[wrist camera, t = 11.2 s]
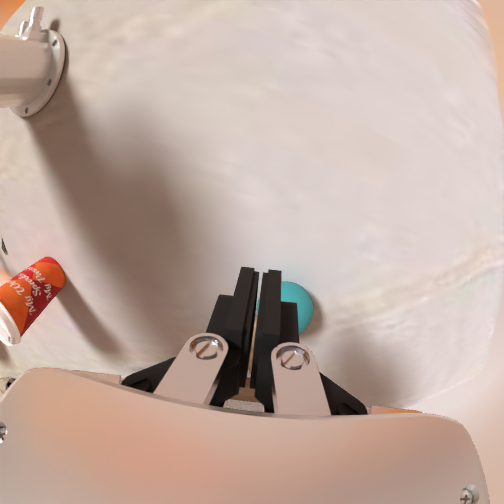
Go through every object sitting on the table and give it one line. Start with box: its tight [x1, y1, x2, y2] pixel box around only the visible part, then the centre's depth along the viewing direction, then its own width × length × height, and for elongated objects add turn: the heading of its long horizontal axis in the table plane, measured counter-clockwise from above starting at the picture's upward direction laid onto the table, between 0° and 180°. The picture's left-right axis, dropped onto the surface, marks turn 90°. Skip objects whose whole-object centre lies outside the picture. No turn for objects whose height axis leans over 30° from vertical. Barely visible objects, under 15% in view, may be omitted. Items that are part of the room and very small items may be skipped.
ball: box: [257, 282, 313, 334], centre depth 29 cm, size 6×6×6 cm
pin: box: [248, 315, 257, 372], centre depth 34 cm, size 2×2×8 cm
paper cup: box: [0, 257, 65, 346], centre depth 29 cm, size 8×8×14 cm
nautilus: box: [0, 377, 15, 394], centre depth 57 cm, size 8×22×15 cm
